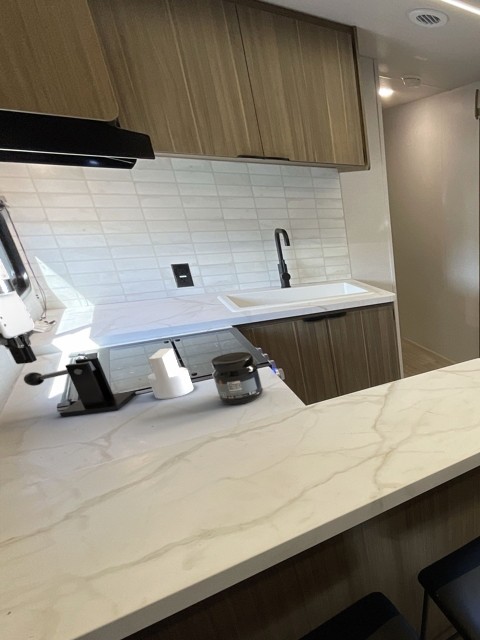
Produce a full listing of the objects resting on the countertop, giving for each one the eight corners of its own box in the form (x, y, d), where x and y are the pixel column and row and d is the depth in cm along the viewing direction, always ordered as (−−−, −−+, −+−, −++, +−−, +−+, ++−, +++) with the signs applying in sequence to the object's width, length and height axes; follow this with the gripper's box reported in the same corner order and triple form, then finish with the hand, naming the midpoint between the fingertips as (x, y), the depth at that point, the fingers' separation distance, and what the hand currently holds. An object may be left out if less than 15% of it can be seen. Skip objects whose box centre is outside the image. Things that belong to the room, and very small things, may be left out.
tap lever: (25, 389, 101) (16, 377, 100) (35, 384, 104) (26, 372, 103) (90, 374, 104) (83, 362, 103) (98, 370, 107) (90, 358, 106)
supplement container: (250, 387, 119) (240, 349, 115) (271, 394, 115) (262, 355, 110) (212, 400, 111) (200, 360, 106) (234, 409, 106) (221, 367, 102)
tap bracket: (61, 417, 103) (38, 371, 98) (84, 401, 112) (65, 357, 107) (118, 410, 106) (99, 365, 101) (136, 394, 115) (120, 352, 110)
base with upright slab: (161, 388, 119) (147, 350, 114) (197, 383, 122) (185, 346, 117) (149, 401, 111) (134, 360, 107) (188, 395, 114) (175, 356, 110)
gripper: (-6, 284, 99) (29, 354, 106) (-62, 296, 86) (-17, 375, 93) (33, 282, 101) (64, 351, 108) (-16, 293, 88) (24, 370, 95)
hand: (27, 362), depth 100 cm, fingers closed
